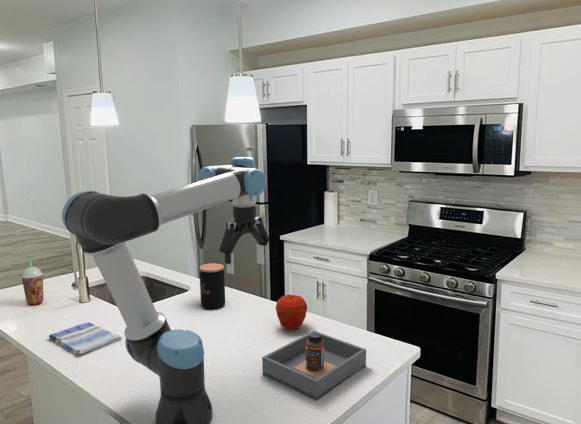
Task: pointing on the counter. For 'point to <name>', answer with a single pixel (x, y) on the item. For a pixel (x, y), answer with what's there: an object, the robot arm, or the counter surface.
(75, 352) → the dish towel
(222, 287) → the coffee jar
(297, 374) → the bin
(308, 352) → the supplement bottle
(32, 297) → the smoothie
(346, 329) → the counter surface
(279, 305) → the apple
